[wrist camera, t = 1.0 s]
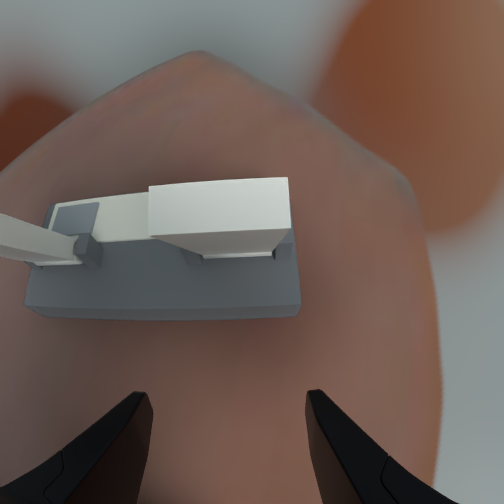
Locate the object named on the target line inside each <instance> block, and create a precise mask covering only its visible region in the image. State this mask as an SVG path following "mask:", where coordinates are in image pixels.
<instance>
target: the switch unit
mask: <svg viewBox="0 0 504 504" xmlns="http://www.w3.org/2000/svg"><path fill="white" fill-rule="evenodd" d="M289 203H290V199H289ZM148 205H149V192H140V193H131V194H122V195H114V196H106V197H98V198H90V199H83V200H76V201H69V202H63V203H56V204H50V206H49V209H48V212H47V215H46V218H45V221H44V224H43V227H42V228H45V229H48V230H51V231H54V232H57V233H60V234H63V235H66V236H69V237H72V238H76V237H78V241H77V245H76V249H75V255H76V256H77V257H78V258H79V259H80V260H81V261H82V262H83V263H82V264H73V265H47V266H37V265H35V264H34V263H33V262H27V261H24V262H25V263H26V264H28V265H29V266H30V267H32V268H31V272H30V276H29V281H28V285H27V290H26V295H25V301H24V306H26V307H27V308H29V309H31V310H33V311H35V312H36V313H38V314H40V315H42V316H46V317H61V318H79V319H102V320H144V321H189V320H232V319H257V318H276V317H292V316H297V314H298V312H299V310H300V307H301V305H302V301H301V291H300V282H299V272H298V263H297V255H296V246H295V238H294V230H293V222H292V214H291V206H290V217H291V229H290V230H289V232H288V233H287V234H286V235H285V236H284V238H283V239H282V240H281V241H280V243H279V244H278V245H277V246H276V248H275V249H274V250H273V251H272V256H255V257H234V258H212V259H204V258H203V255H200V254H198V253H195V252H192V251H189V250H186V249H184V248H181V247H178V246H175V245H172V244H170V243H167V242H164V241H161V240H159V239H156V238H153V237H150V236H148Z"/></svg>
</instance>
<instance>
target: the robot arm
mask: <svg viewBox="0 0 504 504" xmlns="http://www.w3.org/2000/svg"><path fill="white" fill-rule="evenodd" d="M305 416H306V424H307V432H308V440H309V449H310V456H311V460H312V464H313V468H314V472H315V476H316V479H317V483H318V487H319V491H320V495H321V498H322V502H323V504H458V503H456V502H454V501H452V500H450V499H449V498H447V497H446V496H444V495H442V494H441V493H439V492H438V491H436V490H434V489H433V488H431V487H430V486H428V485H427V484H425V483H424V482H422V481H421V480H419V479H418V478H417V477H415V476H414V475H412V474H411V473H410V472H408V471H407V470H406V469H405V468H404V467H402V466H401V465H400V464H399V463H398V462H396V461H395V460H394V459H393V458H392V457H391V456H388V453H387V452H385V451H384V450H383V449H382V448H381V447H380V446H379V445H378V444H377V443H376V442H375V441H374V440H373V439H372V438H370V437H369V436H368V435H367V434H366V433H365V432H364V431H363V430H362V429H361V428H360V427H359V426H358V425H357V424H356V423H355V422H354V421H353V420H352V419H351V418H349V417H348V416H347V415H346V414H345V413H344V412H343V411H342V410H341V409H340V408H339V407H338V406H337V405H336V404H335V403H334V402H333V401H332V400H331V399H330V398H329V397H328V396H327V395H326V394H325V393H324V392H323V391H322V390H320V389H317V390H309V391H307V395H306V406H305ZM152 421H153V409H152V406H151V403H150V401H149V398H148V395H147V394H146V393H145V392H137V391H134V392H132V393H131V394H130V395H128V396H127V397H126V398H125V399H124V400H122V401H121V402H120V403H119V404H118V405H116V406H115V407H114V408H113V409H111V410H110V411H109V412H108V413H106V414H105V415H104V416H103V417H102V418H100V419H99V420H98V421H97V422H95V423H94V424H93V425H92V426H90V427H89V428H88V429H87V430H85V431H84V432H83V433H82V434H80V435H79V436H78V437H76V438H75V439H74V440H73V441H71V442H70V443H69V444H68V445H66V446H65V447H64V448H62V450H60V451H58V452H57V453H56V454H55V455H53V456H52V457H51V458H49V459H48V460H46V461H45V462H44V463H42V464H41V465H39V466H38V467H36V468H34V469H33V470H31V471H30V472H28V473H26V474H24V475H23V476H21V477H19V478H17V479H16V480H14V481H12V482H10V483H9V484H7V485H5V486H3V487H0V504H136V503H137V498H138V494H139V490H140V486H141V482H142V478H143V474H144V469H145V466H146V462H147V457H148V451H149V444H150V436H151V428H152Z"/></svg>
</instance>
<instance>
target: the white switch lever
mask: <svg viewBox="0 0 504 504" xmlns="http://www.w3.org/2000/svg"><path fill="white" fill-rule="evenodd" d="M290 229H291V217H290V203H289V189H288V177H280V178H254V179H234V180H218V181H203V182H190V183H178V184H168V185H157V186H149V205H148V236H150V237H153V238H156V239H159V240H161V241H164V242H167V243H170V244H172V245H175V246H178V247H181V248H184V249H186V250H189V251H192V252H195V253H198V254H200V255H203V258H204V259H212V258H234V257H255V256H272V251H273V250H274V249H275V248H276V246H277V245H278V244H279V243H280V241H281V240H282V239H283V238H284V236H285V235H286V234H287V233H288V232H289V230H290Z"/></svg>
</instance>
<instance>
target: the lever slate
mask: <svg viewBox="0 0 504 504" xmlns="http://www.w3.org/2000/svg"><path fill="white" fill-rule="evenodd" d="M77 241H78V237H76V238H72V237H69V236H66V235H63V234H60V233H57V232H54V231H51V230H48V229H45V228H42V227H39V226H36V225H33V224H30V223H27V222H24V221H21V220H19V219H16V218H13V217H10V216H7V215H4V214H2V213H0V257H4V258H10V259H16V260H21V261H27V262H33V263H34V264H35V265H37V266H47V265H73V264H82V263H83V262H82V261H81V260H80V259H79V258H78V257H77V256H76V255H75V249H76V245H77Z"/></svg>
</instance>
